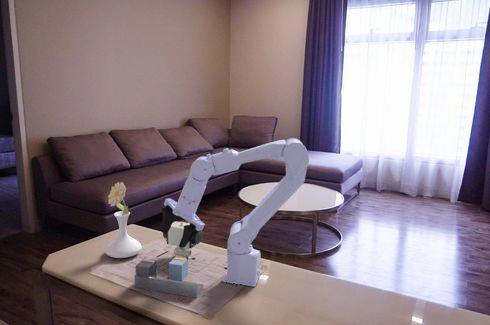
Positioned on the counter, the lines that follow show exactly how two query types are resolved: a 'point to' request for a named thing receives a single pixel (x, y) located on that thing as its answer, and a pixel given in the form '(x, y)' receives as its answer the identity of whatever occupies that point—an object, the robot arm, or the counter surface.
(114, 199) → the flower in vase
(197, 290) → the rail
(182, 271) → the block
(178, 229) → the pneumatic valve
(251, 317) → the counter surface
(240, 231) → the robot arm
